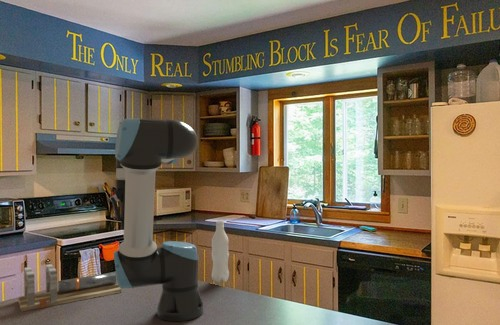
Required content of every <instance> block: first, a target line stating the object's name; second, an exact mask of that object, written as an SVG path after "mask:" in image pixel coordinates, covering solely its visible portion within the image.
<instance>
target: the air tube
mask: <svg viewBox="0 0 500 325" xmlns="http://www.w3.org/2000/svg"><path fill="white" fill-rule="evenodd" d="M115 284H117V275H116V272H113V271H112V272H106V273H99V274H93V275H88V276H81V277H75V278H69V279H62V280H59V281H58V280H57V291H58V294H64V293H70V292H75V291H81V290H87V289H92V288H98V287H103V286H109V285H115Z"/></svg>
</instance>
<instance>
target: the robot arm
mask: <svg viewBox="0 0 500 325" xmlns="http://www.w3.org/2000/svg"><path fill="white" fill-rule="evenodd" d="M198 146H199V138H198V134H197V133H196V131H195V130H194V129H193V127H191V126H190V125H189V124H187V123H186V122H183V121H180V120H177V119H162V118H161V119H160V118H140V117H136V118H124V119H122V120H121V122H120V123H119V125H118V128H117V133H116V138H115V148H114V154H115V156H114V157H115V164H116V166H115V168H116V169H115V171H116V172H115V173H116V176H115V178H116V180H115V193H114V195H112V196H110V197H109V199H108V200H110V202H111V204H112V208H113V211H114V212H113V213H114V215H115V219H116V220H117V221H118V222H119V221H120V228H121V230H122V231H123V241H122V242H121V243H120V244H118V250H116V251H114V252H113V260H114V268H115V275H116V283H117V284H118V286H119V287H120V288H121V289H122V290H123V289H135V288H141V287H149V286H157V285H162V290H161V294H160V297H159V301H158V304H157V308H156V315H157V317H158V318H159V319H161V320H163V321H167V322H185V321H190V320H194V319H197V318H198V317H200V316H202V315H203V314H204V302H203V300H202V297H201V294H200V290H199V274H198V273H199V263H198V262H199V254H198V249H197V247H196V245H195V244H193V243H190V242H185V241H174V240H170V241H169V240H168V241H163V242H162V244H161V246H160V247H158V244H157V243H156V242H155V241H154V240H153V239H154V238H153V235H154V219H155V218H154V216H155V212H154V211H155V195H156V190H155V189H156V171H157V170H159V168H161V167H162V165H173V164H177V163H178V160H179V159H184V158H185V159H186V158H189V157H190V156H191V155H193V154H194V153H195V152H196V150H197V148H198ZM117 200H118V201H119V202H120V203H119V204H120V209H119V206H118V203H117Z"/></svg>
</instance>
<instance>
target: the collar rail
mask: <svg viewBox="0 0 500 325" xmlns="http://www.w3.org/2000/svg"><path fill="white" fill-rule="evenodd" d="M23 273H24V274H23V276H24V277H23V278H24V296H18V300H17V301H18V304H19V309H20V311H21V312H26V311H32V310H35V309H44V308H47V307H52V306H56V305H57V306H58V305H63V304H68V303H73V302H78V301H83V300H88V299H93V298H94V297H95V298H100V297H104V296H110V295H115V294H120V292H121V293H122V288H120V287H119V286H118V283H116V284H115V285H109V286H103V287H98V288H92V289H87V290H81V291H75V292H70V293H64V294H58V270H57V269H56V268H55V267H54V265H53V264H52V263H51V264H50V263H49V264H45V292H41V293H36V292H35V273H34V271H33V269H32V267H30V266H28V267H24V272H23ZM35 293H36V294H35ZM99 296H100V297H99Z"/></svg>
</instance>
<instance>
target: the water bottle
mask: <svg viewBox="0 0 500 325" xmlns="http://www.w3.org/2000/svg"><path fill="white" fill-rule="evenodd" d="M224 223H225V222H224V220H217V221H216V222H215V224H216V225H215V231H214V234H213V236H212V237H211V259H212V269H211V279H212V281H213V282H215V283H217V284H220V283H221V282H222V283H224V284H225V283H226V282H227V281H228V279H229V276H230V271H229V264H228V262H229V256H230V253H229V242H230V240H229V237H228V235H227V233H226V231H225V226H224V225H225V224H224Z"/></svg>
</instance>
